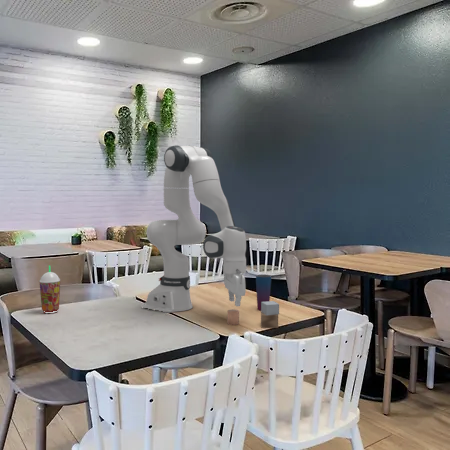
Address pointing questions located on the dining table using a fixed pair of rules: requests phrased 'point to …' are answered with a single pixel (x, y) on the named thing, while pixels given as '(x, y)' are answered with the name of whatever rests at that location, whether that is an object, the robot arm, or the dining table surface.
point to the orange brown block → (233, 317)
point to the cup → (263, 289)
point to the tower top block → (270, 308)
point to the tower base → (269, 321)
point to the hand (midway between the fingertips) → (234, 303)
